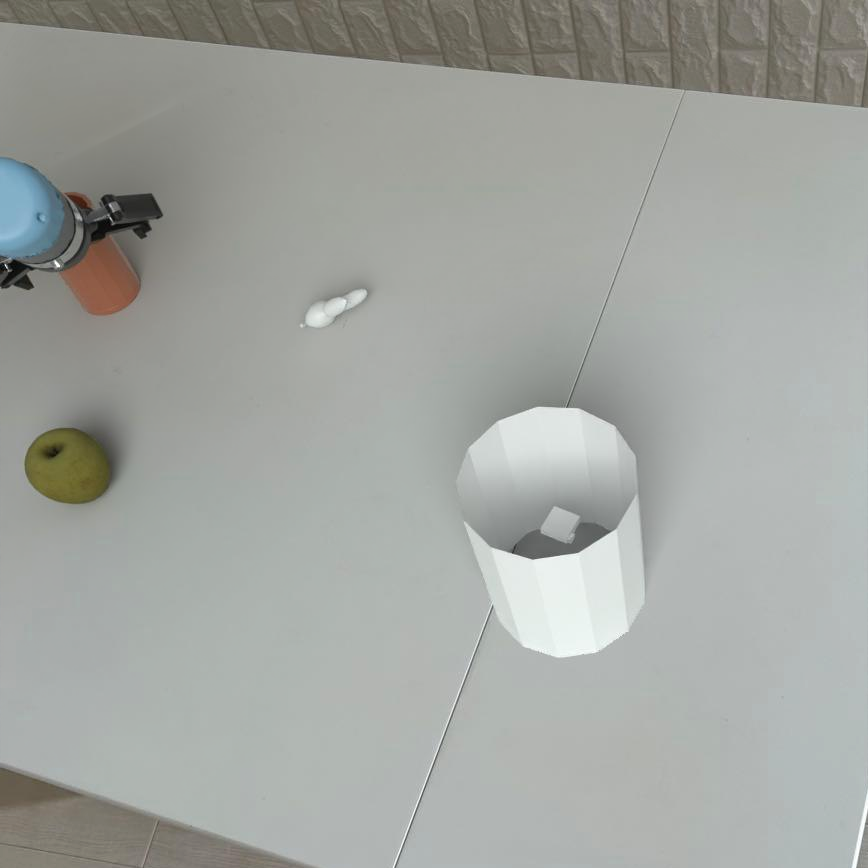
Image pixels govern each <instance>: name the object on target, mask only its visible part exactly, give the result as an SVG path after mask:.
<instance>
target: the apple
mask: <svg viewBox="0 0 868 868" xmlns="http://www.w3.org/2000/svg"><path fill="white" fill-rule="evenodd" d="M23 466H24V472H25V476H26V478H27V480H28V483H30V485H31V486H32V487H33V489H35V491H37V492H38V493H39V494H40V495H42V496H43V497H45V498H47V499H49V500H52V501H54V502H57V503H62V504H68V505H81V504H87V503H91V502H93V501H95V500H96V499H99V497H101V496H102V495H103V494H104V492H105V491H106V490H107V488H108V486H109V483H110V480H111V464H110V461H109V458H108V455H107V453H106V451H105V450H104V448H103V447H102V446H101V444H100V443H99V442H98V441H97V440H96V439H95V438H94V437H93V436H92V435H91V434H88V433H87V432H85V431H83V430H81V429H78V428H74V427H58V428H53V429H50V430H47V431H45V432H43V433H41V434H40V435H38V436H37V437H36V438H35V439H34V440H33V441H32V443H31V444H30V446H29V447H28V448H27V451H26V454H25V457H24V465H23Z"/></svg>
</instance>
